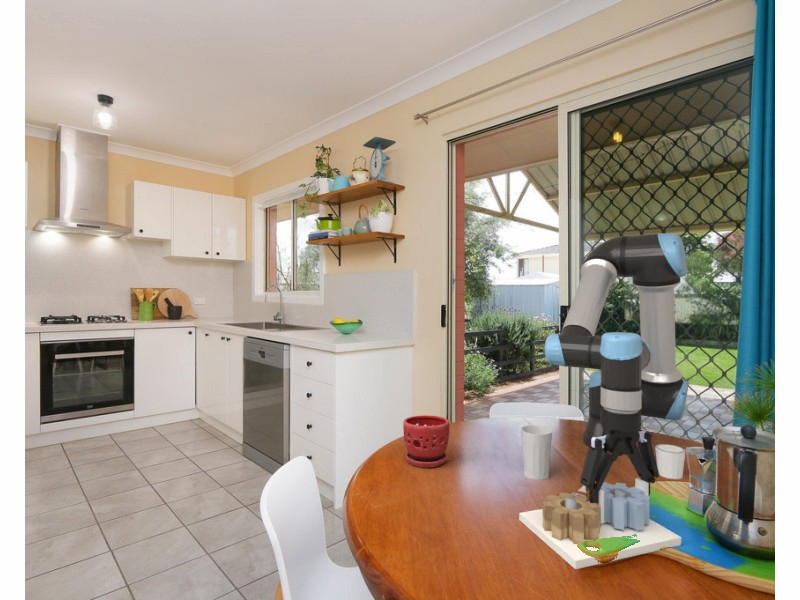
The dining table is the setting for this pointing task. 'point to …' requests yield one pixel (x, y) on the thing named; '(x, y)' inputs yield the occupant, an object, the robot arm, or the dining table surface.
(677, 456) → the short white tumbler
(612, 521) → the gear
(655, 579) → the dining table surface
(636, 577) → the dining table surface
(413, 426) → the plant pot
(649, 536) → the gear board
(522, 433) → the cup
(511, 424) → the dining table surface
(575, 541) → the gear
